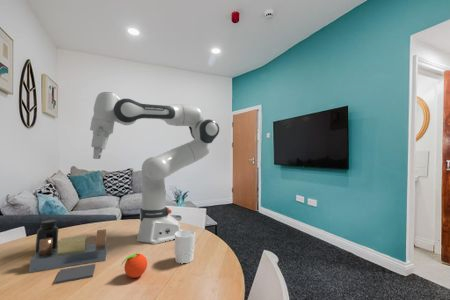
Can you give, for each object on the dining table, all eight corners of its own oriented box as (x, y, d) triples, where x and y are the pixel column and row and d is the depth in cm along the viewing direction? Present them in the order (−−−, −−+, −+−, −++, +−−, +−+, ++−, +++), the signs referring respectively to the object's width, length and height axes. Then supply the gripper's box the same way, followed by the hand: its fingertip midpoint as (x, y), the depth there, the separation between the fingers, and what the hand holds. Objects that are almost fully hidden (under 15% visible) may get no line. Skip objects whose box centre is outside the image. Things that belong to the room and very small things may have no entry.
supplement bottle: (44, 255, 83) (46, 224, 83) (30, 253, 84) (32, 222, 85) (61, 248, 90) (63, 219, 90) (48, 247, 91) (49, 218, 92)
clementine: (122, 285, 65) (123, 261, 65) (118, 275, 70) (119, 253, 71) (149, 277, 69) (150, 255, 70) (143, 268, 75) (144, 247, 75)
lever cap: (86, 245, 83) (87, 235, 83) (84, 251, 79) (85, 239, 79) (61, 249, 80) (61, 238, 80) (57, 254, 75) (58, 243, 75)
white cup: (198, 257, 84) (198, 231, 85) (188, 266, 77) (189, 238, 78) (180, 254, 87) (181, 228, 88) (169, 262, 80) (170, 235, 80)
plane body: (106, 251, 87) (108, 226, 88) (105, 260, 80) (106, 233, 81) (37, 262, 78) (39, 234, 78) (29, 272, 71) (31, 241, 71)
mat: (95, 265, 76) (95, 263, 76) (92, 276, 69) (92, 274, 69) (60, 271, 72) (60, 269, 72) (53, 284, 65) (54, 282, 65)
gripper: (108, 126, 88) (102, 160, 86) (111, 131, 106) (106, 159, 105) (90, 123, 85) (84, 157, 84) (96, 129, 103) (91, 157, 102)
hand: (96, 158), depth 94 cm, fingers open, 8 cm apart
